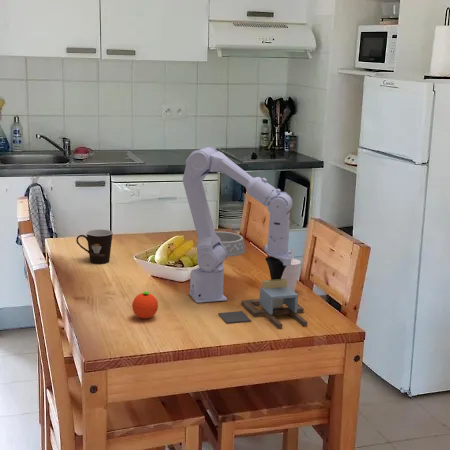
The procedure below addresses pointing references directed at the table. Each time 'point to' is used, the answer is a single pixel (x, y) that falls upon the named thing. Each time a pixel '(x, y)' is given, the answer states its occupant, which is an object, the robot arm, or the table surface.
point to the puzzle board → (255, 312)
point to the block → (278, 303)
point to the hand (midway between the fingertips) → (275, 282)
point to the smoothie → (292, 272)
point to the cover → (277, 295)
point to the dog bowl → (231, 243)
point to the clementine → (145, 305)
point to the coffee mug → (98, 245)
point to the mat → (234, 317)
